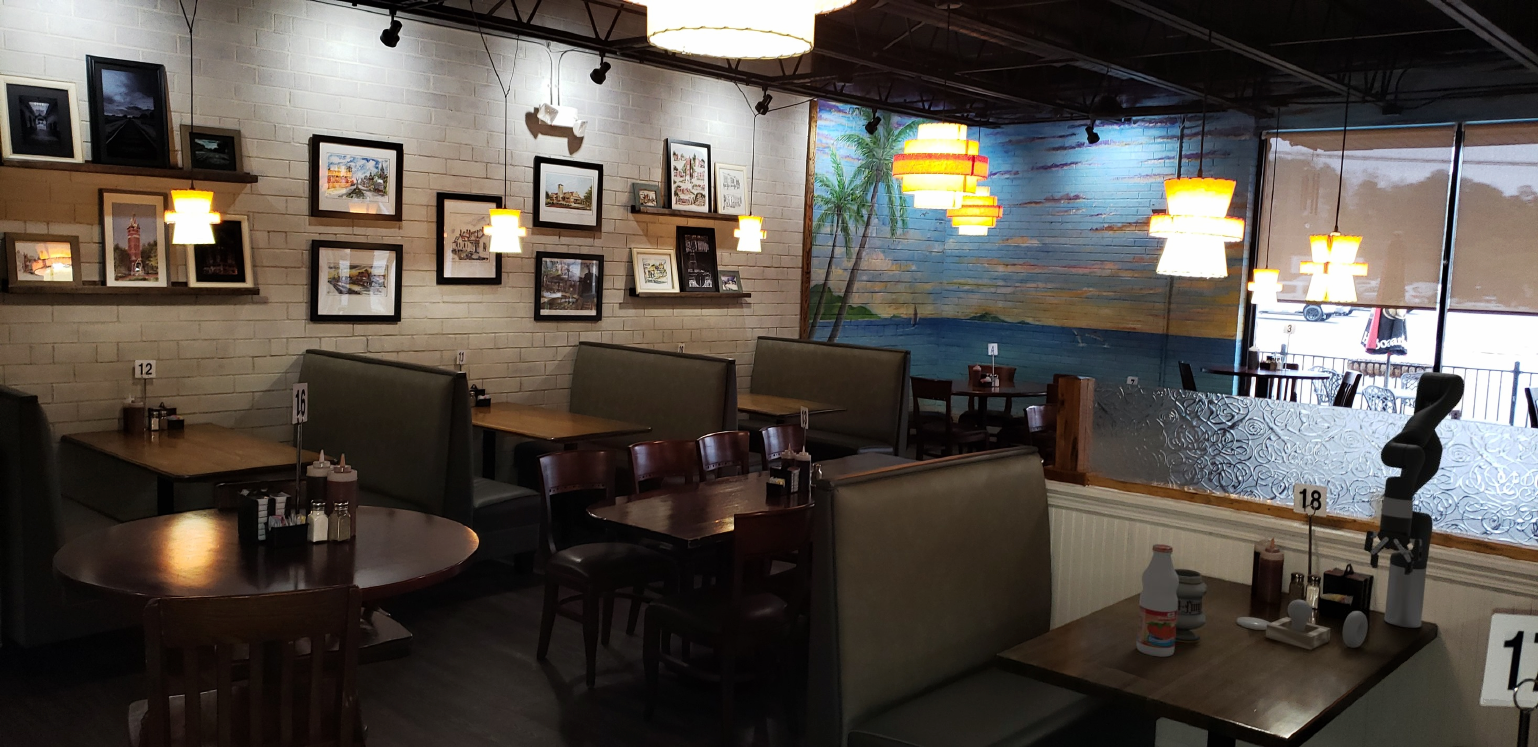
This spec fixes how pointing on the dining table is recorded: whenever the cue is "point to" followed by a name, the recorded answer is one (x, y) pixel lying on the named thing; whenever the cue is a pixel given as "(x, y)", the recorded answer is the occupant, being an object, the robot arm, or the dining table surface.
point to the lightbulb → (1299, 614)
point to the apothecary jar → (1189, 605)
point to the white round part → (1252, 623)
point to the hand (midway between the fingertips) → (1390, 571)
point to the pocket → (1298, 634)
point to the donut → (1355, 629)
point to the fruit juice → (1158, 605)
